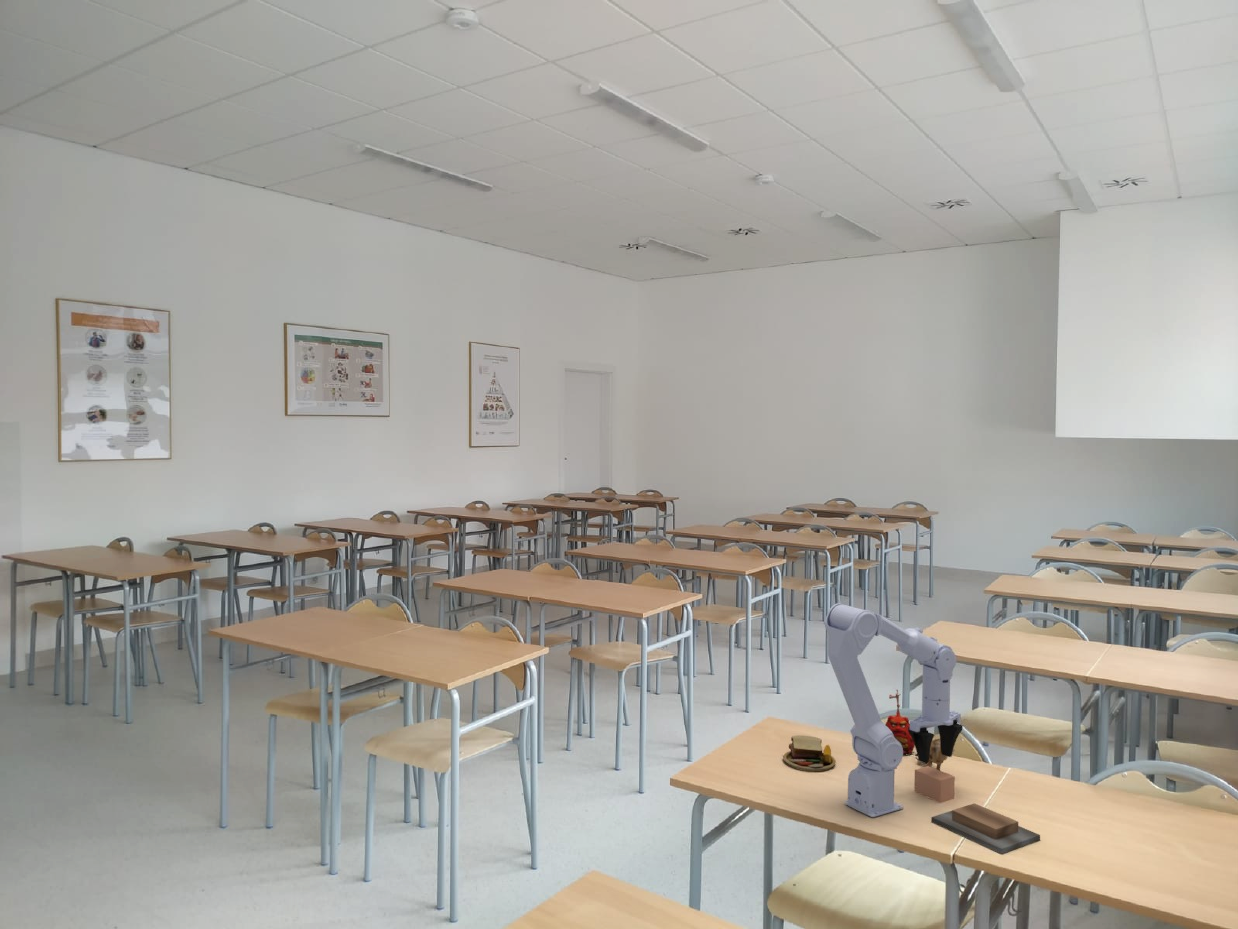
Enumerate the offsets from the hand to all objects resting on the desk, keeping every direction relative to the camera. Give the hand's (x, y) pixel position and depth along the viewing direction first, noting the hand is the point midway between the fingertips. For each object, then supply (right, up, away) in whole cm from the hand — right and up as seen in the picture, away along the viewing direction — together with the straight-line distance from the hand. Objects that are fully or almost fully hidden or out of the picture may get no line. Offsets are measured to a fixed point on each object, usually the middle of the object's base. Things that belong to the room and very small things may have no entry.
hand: (934, 758), depth 187 cm
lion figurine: (+5, -8, +15) cm, 18 cm away
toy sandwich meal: (-24, -8, +19) cm, 32 cm away
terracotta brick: (0, -8, 0) cm, 8 cm away
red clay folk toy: (+1, -8, +28) cm, 29 cm away
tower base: (+3, -8, -18) cm, 20 cm away
